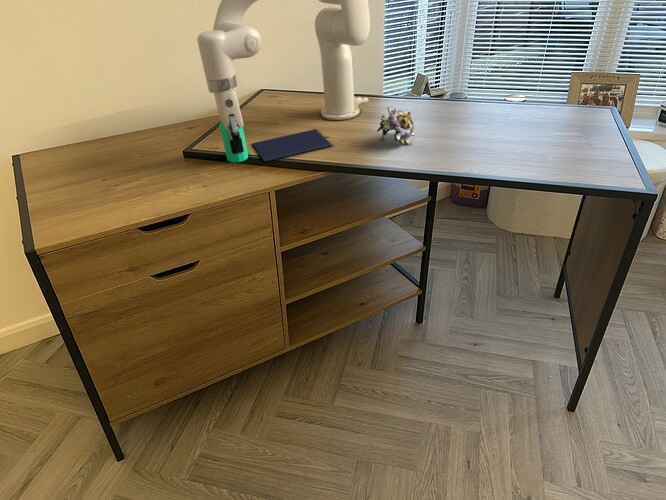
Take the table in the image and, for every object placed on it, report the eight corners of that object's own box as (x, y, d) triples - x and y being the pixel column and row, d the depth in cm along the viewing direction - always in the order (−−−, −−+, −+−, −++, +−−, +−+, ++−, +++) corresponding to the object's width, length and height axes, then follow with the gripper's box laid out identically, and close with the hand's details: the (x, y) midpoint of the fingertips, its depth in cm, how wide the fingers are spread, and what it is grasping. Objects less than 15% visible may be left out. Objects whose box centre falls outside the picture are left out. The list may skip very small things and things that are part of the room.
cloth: (315, 130, 148) (315, 128, 148) (331, 146, 137) (331, 144, 137) (252, 144, 143) (252, 142, 143) (264, 162, 132) (264, 160, 132)
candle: (244, 162, 133) (235, 121, 126) (223, 162, 134) (214, 121, 127) (251, 153, 138) (243, 112, 131) (231, 153, 139) (223, 112, 132)
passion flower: (406, 161, 138) (406, 139, 127) (371, 150, 141) (367, 128, 129) (419, 128, 140) (420, 104, 129) (384, 118, 143) (382, 94, 132)
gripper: (243, 89, 118) (256, 157, 129) (229, 72, 131) (242, 135, 142) (213, 95, 116) (228, 163, 127) (202, 77, 129) (217, 141, 140)
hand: (235, 148), depth 134 cm, fingers closed on candle, 4 cm apart
